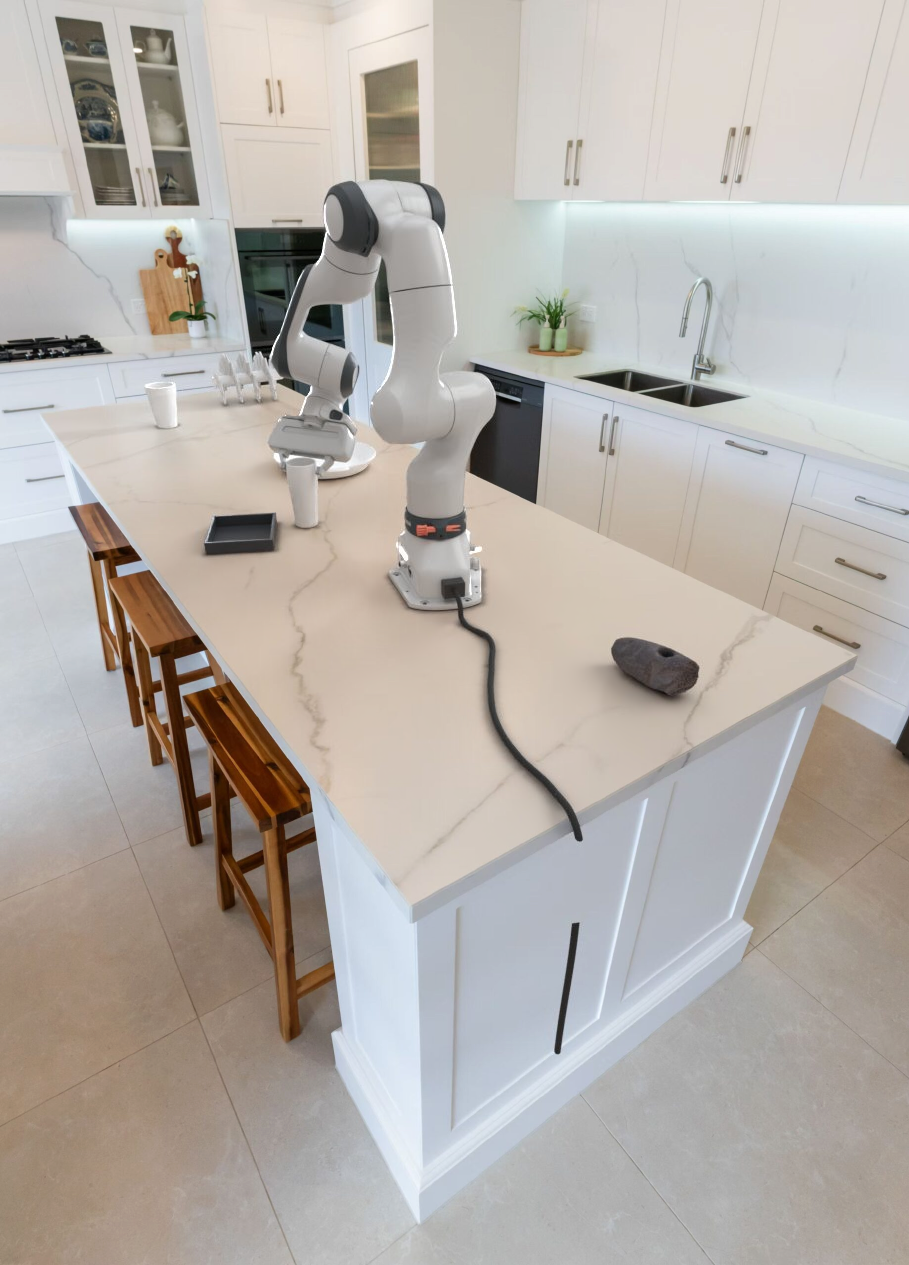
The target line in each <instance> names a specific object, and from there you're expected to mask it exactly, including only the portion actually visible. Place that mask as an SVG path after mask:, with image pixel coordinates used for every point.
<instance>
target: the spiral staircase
mask: <svg viewBox="0 0 909 1265" xmlns="http://www.w3.org/2000/svg"><path fill="white" fill-rule="evenodd" d="M254 353H255V354H254V355H253V357H252V362H251V361H248V359H247V355H246V353H242V350H241V351H239V352H238V354H237V355H236V356H235V357H236V358H235V367H234V363H233V361H230V359H229V357H228V354H227V353H226V354H224V353H221V356H220V357H219V359H218V361H219V362H218V371H219V372H218V373H217V371H216V370H215V369H213V376H211V383H212V387H213V389H214V390H216V389H219V393H220V396H221V400H222V403H223V404H224V406H227V398H226V391H228V388H230V387H235V389H236V393H237V398H238V399H239V402H240V403H241V404H244V397H243V389H244V388H245V387H244V386H245V385H251V384H252V388H253V393H254V396H255V399H256V401H257V402H258V404H259V403H261V395H260V389H262V386H261V385H262V384H261V383H265V382H268V389H269V391H270V395H271V397H272V398H273V400H274V402H276V401H277V398H278V396H277V388H276V387H278V382H277V381H278V380H283V379H284V377H281V376H280V375H279V374H278V373H277V371H276V370H275V368H274V367H273V365H272V363H271V354H272V352H270V354H269V356H268V357H269V359H268V360H267V357H264V356H263V353H262V351H255V352H254ZM251 363H252V364H251Z"/></svg>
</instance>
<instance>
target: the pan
mask: <svg viewBox="0 0 909 1265" xmlns="http://www.w3.org/2000/svg"><path fill="white" fill-rule="evenodd" d="M376 456H377V452H376V449H375V448H374V447H372V445H369V444H368V443H365V442H361V441H358V440H355V447H354V451H353V455H352V457H351V459H350V460H349V461H348V462H346V463H344V462H337V461H334V464H333V466H331V467H330V468H329V469H328V470H327V471H326V473H325V476H324V477H318V480H333V479H341V478H347V477H350V476H353V475H356V474H358V473H361V472H363V471H364V470H366V468H367V467H368V466H369V465H370V464H371V462H372V461H373V460H374V459H375V457H376ZM272 457H273V460H274V462H275V463H276V464H278V466H279V465H280V462H281V461H280V457H279V453H275V452H274V453H273V455H272ZM293 458H301V456H294V455H289V458H288V459H287V458H286V462H287V461H288V460H290V459H293ZM305 458H309V457H305ZM312 459H314V460H315V461H316V466H318V467H320V466H321V465H322V464H323V463H324V462H325V460H323V459H316V458H312Z"/></svg>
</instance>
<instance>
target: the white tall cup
mask: <svg viewBox="0 0 909 1265" xmlns="http://www.w3.org/2000/svg"><path fill="white" fill-rule="evenodd" d="M316 468H317V466H316V461H315V460H314V459H312V458H305V457H301V458H293V459H290V460H288V461H287V462H286V472H285V473H286V480H287V486H288V491H289V496H290V501H291V506H292V511H293V515H294V517H293V518H294V524H295V526H297V528H301V529H311V528H314V527H316V526H318V524H319V495H318V494H319V479H318V476H317V475H316V474H315V471H316Z"/></svg>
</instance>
